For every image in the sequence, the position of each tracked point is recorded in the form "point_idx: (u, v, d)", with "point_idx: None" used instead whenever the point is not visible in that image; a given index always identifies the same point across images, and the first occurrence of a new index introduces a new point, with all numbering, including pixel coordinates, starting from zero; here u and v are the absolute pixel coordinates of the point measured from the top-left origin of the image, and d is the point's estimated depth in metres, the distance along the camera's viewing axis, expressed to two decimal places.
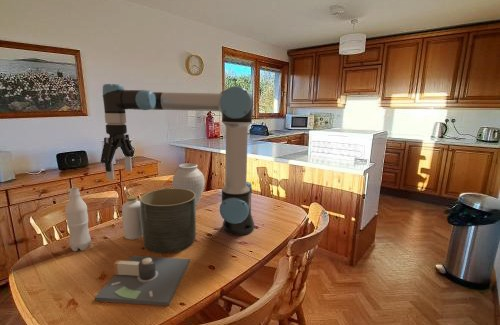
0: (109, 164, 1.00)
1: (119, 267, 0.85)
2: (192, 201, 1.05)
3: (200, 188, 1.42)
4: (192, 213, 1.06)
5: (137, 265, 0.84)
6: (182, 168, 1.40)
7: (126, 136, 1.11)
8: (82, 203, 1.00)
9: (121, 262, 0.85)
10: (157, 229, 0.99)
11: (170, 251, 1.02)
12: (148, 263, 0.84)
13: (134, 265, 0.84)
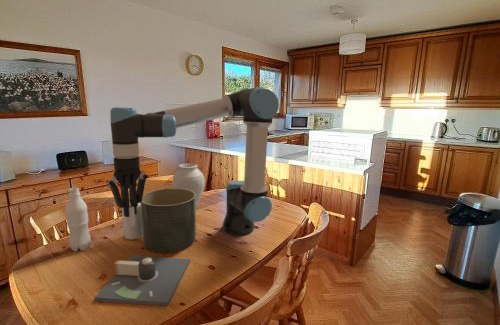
0: (127, 209, 0.85)
1: (119, 267, 0.85)
2: (192, 201, 1.05)
3: (200, 188, 1.42)
4: (192, 213, 1.06)
5: (137, 265, 0.84)
6: (182, 168, 1.40)
7: (143, 175, 0.88)
8: (82, 203, 1.00)
9: (121, 262, 0.85)
10: (157, 229, 0.99)
11: (170, 251, 1.02)
12: (148, 263, 0.84)
13: (134, 265, 0.84)
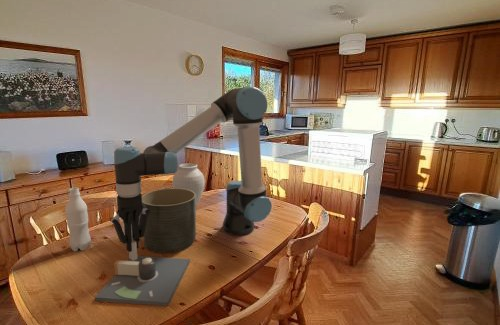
0: (129, 244, 0.88)
1: (119, 267, 0.85)
2: (192, 201, 1.05)
3: (200, 188, 1.42)
4: (192, 213, 1.06)
5: (137, 265, 0.84)
6: (182, 168, 1.40)
7: (146, 211, 0.91)
8: (82, 203, 1.00)
9: (121, 262, 0.85)
10: (157, 229, 0.99)
11: (170, 251, 1.02)
12: (148, 263, 0.84)
13: (134, 265, 0.84)
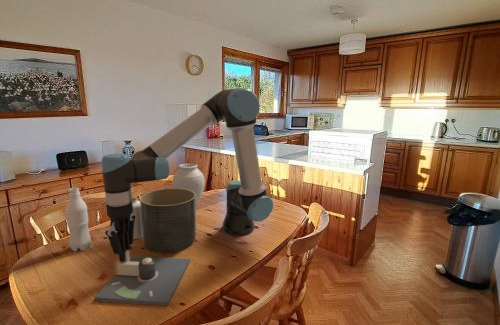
0: (123, 253, 0.85)
1: (119, 267, 0.85)
2: (192, 201, 1.05)
3: (200, 188, 1.42)
4: (192, 213, 1.06)
5: (137, 265, 0.84)
6: (182, 168, 1.40)
7: (132, 217, 0.89)
8: (82, 203, 1.00)
9: (121, 262, 0.85)
10: (157, 229, 0.99)
11: (170, 251, 1.02)
12: (148, 263, 0.84)
13: (133, 265, 0.84)
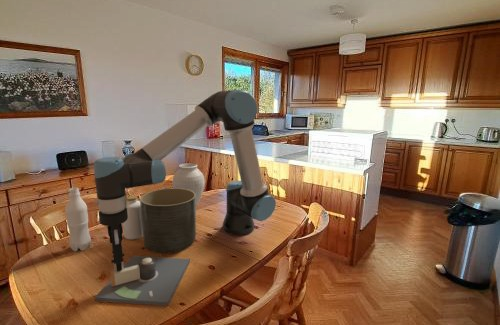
0: (121, 261, 0.81)
1: (117, 277, 0.80)
2: (192, 201, 1.05)
3: (200, 188, 1.42)
4: (192, 213, 1.06)
5: (138, 268, 0.83)
6: (182, 168, 1.40)
7: None
8: (82, 203, 1.00)
9: (117, 271, 0.81)
10: (157, 229, 0.99)
11: (170, 251, 1.02)
12: (150, 262, 0.84)
13: (134, 269, 0.82)
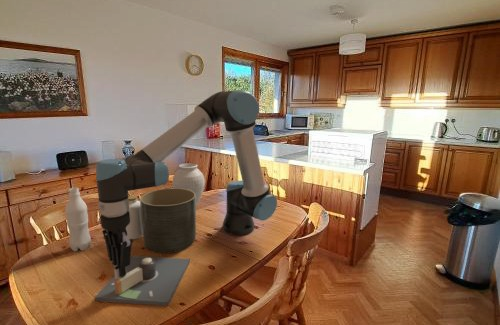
0: None
1: (123, 283, 0.77)
2: (192, 201, 1.05)
3: (200, 188, 1.42)
4: (192, 213, 1.06)
5: (141, 269, 0.82)
6: (182, 168, 1.40)
7: None
8: (82, 203, 1.00)
9: (122, 278, 0.78)
10: (157, 229, 0.99)
11: (170, 251, 1.02)
12: (151, 260, 0.85)
13: (138, 271, 0.81)
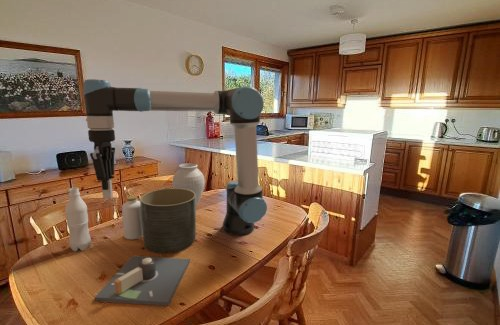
0: (106, 181, 0.87)
1: (123, 283, 0.77)
2: (192, 201, 1.05)
3: (200, 188, 1.42)
4: (192, 213, 1.06)
5: (141, 269, 0.82)
6: (182, 168, 1.40)
7: (112, 148, 0.91)
8: (82, 203, 1.00)
9: (122, 278, 0.78)
10: (157, 229, 0.99)
11: (170, 251, 1.02)
12: (151, 260, 0.85)
13: (138, 271, 0.81)
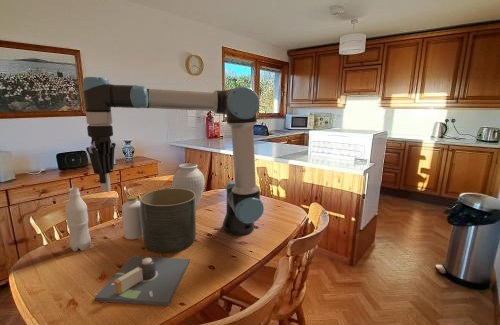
0: (104, 175, 0.90)
1: (123, 283, 0.77)
2: (192, 201, 1.05)
3: (200, 188, 1.42)
4: (192, 213, 1.06)
5: (141, 269, 0.82)
6: (182, 168, 1.40)
7: (112, 144, 0.94)
8: (82, 203, 1.00)
9: (122, 278, 0.78)
10: (157, 229, 0.99)
11: (170, 251, 1.02)
12: (151, 260, 0.85)
13: (138, 271, 0.81)
